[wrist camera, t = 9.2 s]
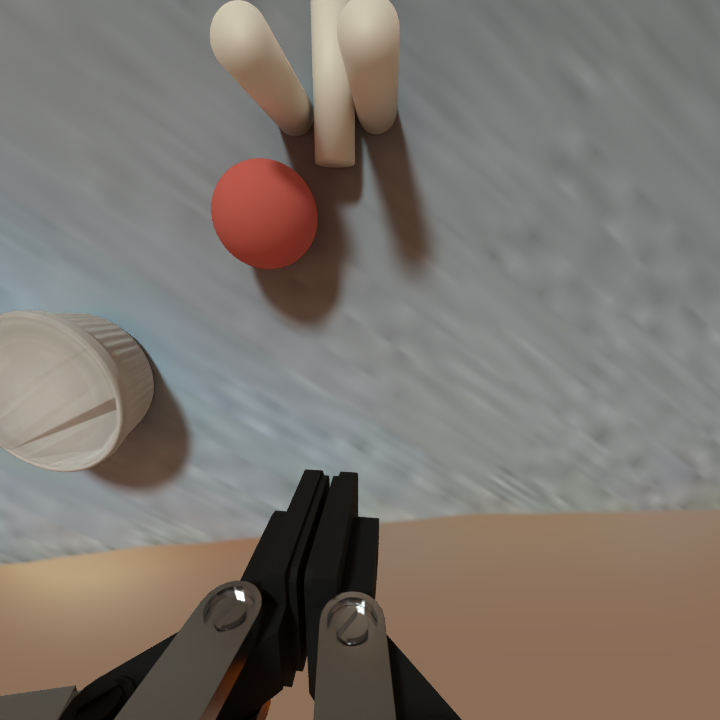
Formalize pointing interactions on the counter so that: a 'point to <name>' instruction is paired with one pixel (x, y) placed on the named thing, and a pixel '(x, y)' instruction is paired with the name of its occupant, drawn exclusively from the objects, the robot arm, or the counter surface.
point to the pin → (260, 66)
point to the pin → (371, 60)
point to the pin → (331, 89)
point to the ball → (264, 213)
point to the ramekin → (69, 388)
